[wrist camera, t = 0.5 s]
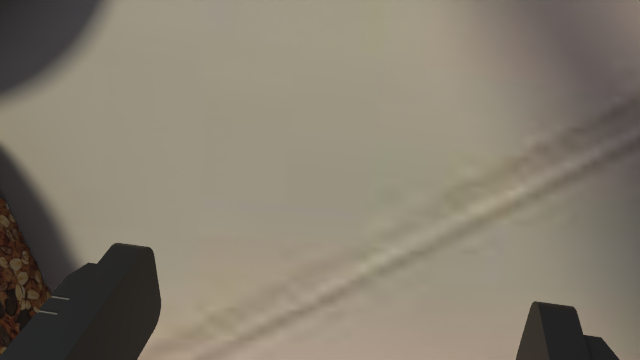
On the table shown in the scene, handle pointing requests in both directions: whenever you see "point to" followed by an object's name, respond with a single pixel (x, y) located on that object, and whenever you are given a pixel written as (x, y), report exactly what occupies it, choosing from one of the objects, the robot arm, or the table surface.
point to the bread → (17, 280)
